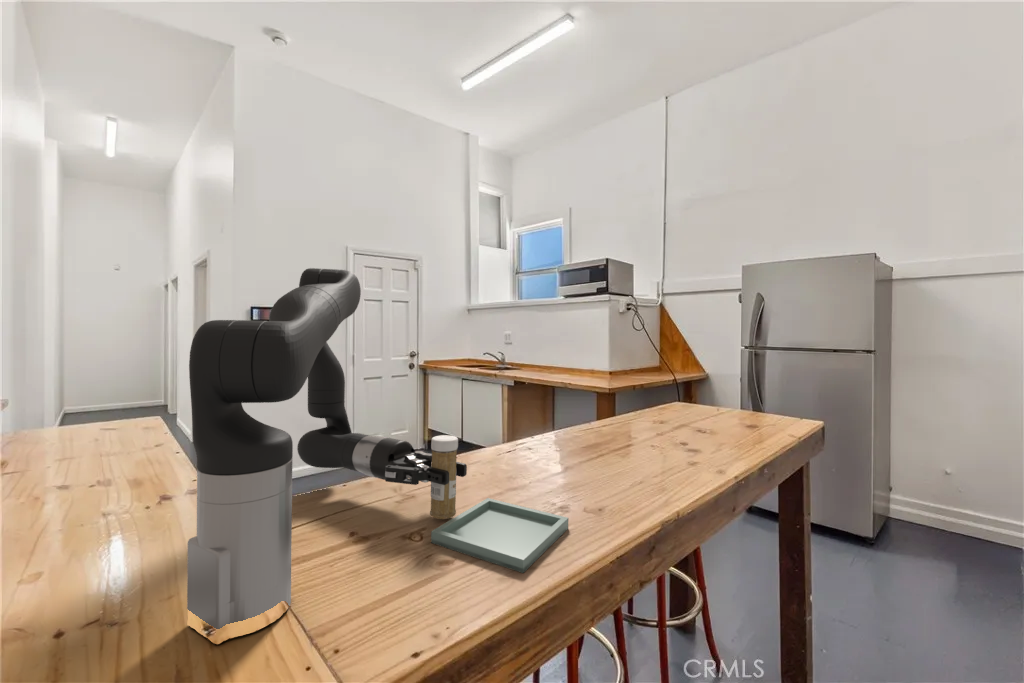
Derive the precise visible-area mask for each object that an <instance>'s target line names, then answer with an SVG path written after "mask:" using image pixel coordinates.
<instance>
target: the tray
mask: <svg viewBox="0 0 1024 683" xmlns="http://www.w3.org/2000/svg"><path fill="white" fill-rule="evenodd" d="M568 529H569V517H567V516H563V515H559V514H556V513H555V514H554V513H550V512H547V511H541V510H537V509H534V508H532V507H531V508H530V507H526V506H522V505H518V504H513V503H510V502H505V501H502V500H499V499H498V500H497V499H495V498H489V497H487V498H485V499H483V500H482V501H480V502H478V503H477V504H475V505H474V506H472V507H470V508H468V509H466V510H465V511H463V512H462V513H460V514H458V515H457V516H456V515H455V517H452V518H450V520H448V521H447V522H444V523H443V524H441V525H439V526H438V527H436V528H434V529H433V530H431V534H430V537H431V538H430V541H431V542H430V543H431V544H434V545H437V546H439V547H442V548H445V549H449V550H452V551H454V552H457V553H461V554H464V555H467V556H470V557H472V558H476V559H479V560H482V561H485V562H489V563H490V564H495V565H497V566H500V567H504V568H506V569H510V570H512V571H515V572H519V573H522V574H524V573H525V572H526V571H527V570H528V569H529V568H530V567H531V566H533V564H534V563H535V562H537V560H538V559H539V558H540V557H541V556H542V555H543V554H544V553H545V552H546V551H547V550H549V548H551V546H552V545H554V543H555V542H556V541H557V540H558V539H559V538H560V537H561V536H562V535H564V533H566V531H567V530H568Z"/></svg>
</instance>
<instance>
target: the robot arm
mask: <svg viewBox="0 0 1024 683" xmlns="http://www.w3.org/2000/svg"><path fill="white" fill-rule="evenodd" d="M361 290H362V289H361V284H360V281H359V279H358V277H357V275H356V274H355V273H353V271H349V270H346V269H335V268H334V269H333V268H314V267H310V268H306V269H305V270H303V272H302V273H301V276H300V278H299V283H298V286H297V287H295V288H294V289H292V290H289V292H287V293H285V294H283V295H282V296H280V297H279V298H278V299H277V300H276V301H275V303H274V304H273V306H272V307H271V309H270V313H269V318H268V320H252V319H251V320H250V319H249V320H248V319H247V320H246V319H245V320H243V319H237V320H236V319H216V320H215V319H214V320H209V321H205V322H204V323H203V324H201V325H200V326H199V328H198V329H197V330H196V331H195V334H194V336H193V338H192V341H191V345H190V351H189V364H188V370H189V371H188V372H189V389H190V403H191V406H190V407H191V423H192V424H191V425H192V428H191V429H192V430H191V431H192V443H193V447H194V450H195V454H196V536H194V537H191V538H189V539H188V540H187V559H186V560H187V561H186V562H187V580H186V581H187V583H186V584H187V585H186V586H187V587H186V588H187V589H186V592H187V593H186V598H187V600H186V601H187V604H186V610H187V609H188V610H189V611H191V612H192V613H193V614H195V615H196V616H198V617H199V618H200V619H202V620H203V621H205V622H206V623H208V624H209V625H211V626H213V627H214V628H216V629H220V628H222V627H223V626H225V625H226V624H230V623H234V622H238V621H243V620H246V619H248V618H252V617H255V616H257V615H260V614H261V613H264V612H265V611H267V610H269V609H271V608H273V607H274V606H276V605H277V604H278V603H280V602H281V601H286V602H287V603H288V605H289V606H290V607H291V603H292V544H293V543H292V538H293V537H292V535H293V533H292V530H293V528H292V527H293V526H292V522H293V517H292V516H293V513H292V512H293V454H294V453H293V449H294V448H293V446H294V445H293V438H292V436H291V435H290V434H289V433H288V432H287V431H285V430H283V429H280V428H277V427H275V426H271V425H268V424H266V423H263V422H261V421H259V420H257V419H256V418H253V417H252V416H251V415H250V414H248V413H247V412H246V410H245V409H244V407H243V404H247V403H248V404H255V403H257V404H260V403H261V404H262V403H267V404H268V403H270V404H271V403H281V402H285V401H288V400H290V399H292V398H294V397H295V396H296V395H297V394H298V393H299V392H300V391H301V389H302V388H303V386H304V385H305V383H306V382H307V412H308V414H309V415H310V416H311V417H313V418H317V419H325V422H326V426H325V427H322V428H321V427H320V428H317V429H312V430H310V431H308V432H306V433H304V434H303V435H302V436H301V438H300V439H299V441H298V443H297V448H296V449H297V454H298V456H299V458H300V459H301V460H302V462H303V463H305V464H306V465H308V466H310V467H313V468H319V469H321V468H322V469H323V468H324V469H348V470H351V471H354V472H359V473H362V474H363V475H365V476H368V477H371V478H376V479H380V480H384V481H385V482H387V483H397V484H403V485H405V484H406V485H414V486H417V485H419V483H420V482H422V483H425V484H426V483H429V482H430V483H431V482H434V483H438V484H442V485H446V484H448V483H449V472H448V471H446V470H442V469H437V468H433V467H431V466H432V453H426V452H425V451H421V450H415V448H414V446H413V445H412V444H411V443H410V442H409V441H407V440H403V439H402V440H401V439H397V438H392V437H386V436H382V435H369V434H364V433H359V432H352V428H351V425H350V422H349V418H348V413H347V410H346V407H345V402H346V401H345V398H346V396H345V395H346V394H345V393H346V390H345V389H346V379H345V378H346V377H345V373H344V370H343V366H342V365H341V363H340V361H339V359H338V358H337V356H336V355H335V353H334V352H333V350H332V348H331V347H330V345H329V344H328V341H329V340H330V339H331V337H333V335H334V334H335V332H336V331H337V330H338V328H339V326H340V325H341V323H342V322H343V321H345V320H346V319H348V318H349V317H351V316H352V315H354V313H355V312H356V310H357V308H358V306H359V303H360V299H361V292H362V291H361ZM467 468H468V467H467V464H466V463H464V462H459V461H456V477H461V478H464V477H466V476H467V473H468V472H467V470H468V469H467Z"/></svg>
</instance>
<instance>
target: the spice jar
mask: <svg viewBox="0 0 1024 683" xmlns="http://www.w3.org/2000/svg"><path fill="white" fill-rule="evenodd" d="M430 441H431V442H430V444H431V445H430V448H431V454H432V466H431V467H433V468H437V469H442V470H446V471H448V472H449V483H448V484H446V485H442V484H438V483H434V482H430V511H429V515H430V517H432V518H433V519H436V520H447V519H452V518H454V516H456V514H457V510H456V502H457V501H456V496H457V476H456V462H457V451H458V448H459V438H458V437H457V436H455V435H451V434H450V435H446V434H442V435H435V436H433V437H432V438H431V440H430Z"/></svg>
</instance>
